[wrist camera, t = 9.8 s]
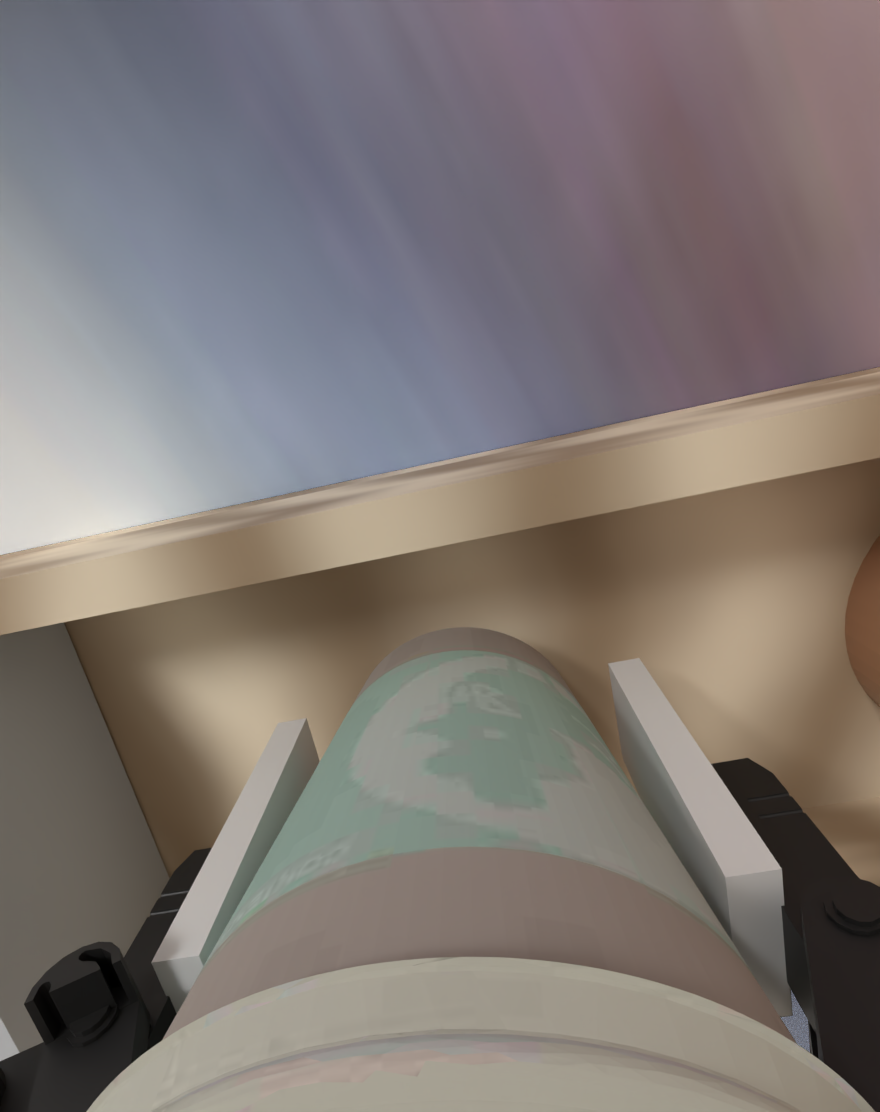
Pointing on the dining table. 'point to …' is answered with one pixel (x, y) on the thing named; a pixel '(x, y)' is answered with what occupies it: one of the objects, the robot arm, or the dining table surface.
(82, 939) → the pusher
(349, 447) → the dining table surface
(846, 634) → the jar
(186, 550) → the wooden tray
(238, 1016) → the coffee cup
